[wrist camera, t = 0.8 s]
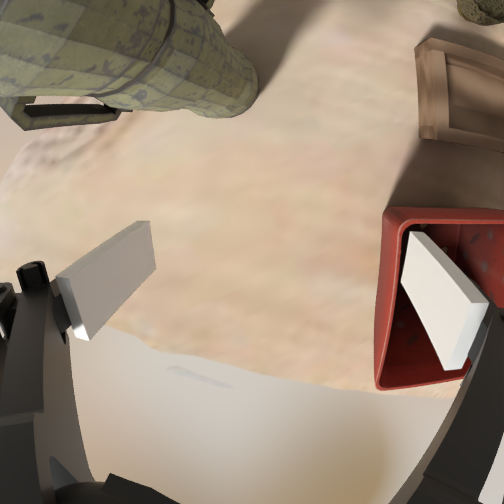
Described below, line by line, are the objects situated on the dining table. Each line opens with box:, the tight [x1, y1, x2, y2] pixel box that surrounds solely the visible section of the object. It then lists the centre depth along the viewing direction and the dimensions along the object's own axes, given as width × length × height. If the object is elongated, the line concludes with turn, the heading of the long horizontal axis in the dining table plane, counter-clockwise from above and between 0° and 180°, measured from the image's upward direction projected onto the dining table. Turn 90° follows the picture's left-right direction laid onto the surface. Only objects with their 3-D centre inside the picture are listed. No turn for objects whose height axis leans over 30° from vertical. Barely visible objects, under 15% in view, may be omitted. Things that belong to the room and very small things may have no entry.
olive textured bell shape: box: [457, 0, 504, 26], centre depth 20 cm, size 8×7×8 cm
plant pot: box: [374, 207, 504, 391], centre depth 31 cm, size 19×19×17 cm
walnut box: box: [414, 38, 504, 153], centre depth 26 cm, size 13×20×6 cm, turn 93°
